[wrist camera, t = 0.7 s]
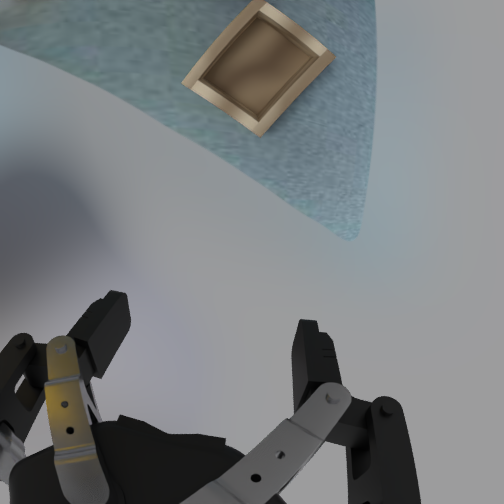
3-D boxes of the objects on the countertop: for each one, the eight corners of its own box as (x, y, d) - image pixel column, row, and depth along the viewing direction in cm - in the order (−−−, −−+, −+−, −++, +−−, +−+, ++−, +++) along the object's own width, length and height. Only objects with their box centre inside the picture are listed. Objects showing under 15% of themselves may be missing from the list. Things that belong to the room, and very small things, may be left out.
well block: (189, 80, 29) (181, 83, 25) (255, 5, 23) (256, -5, 19) (258, 128, 33) (260, 137, 29) (324, 57, 27) (336, 57, 23)
